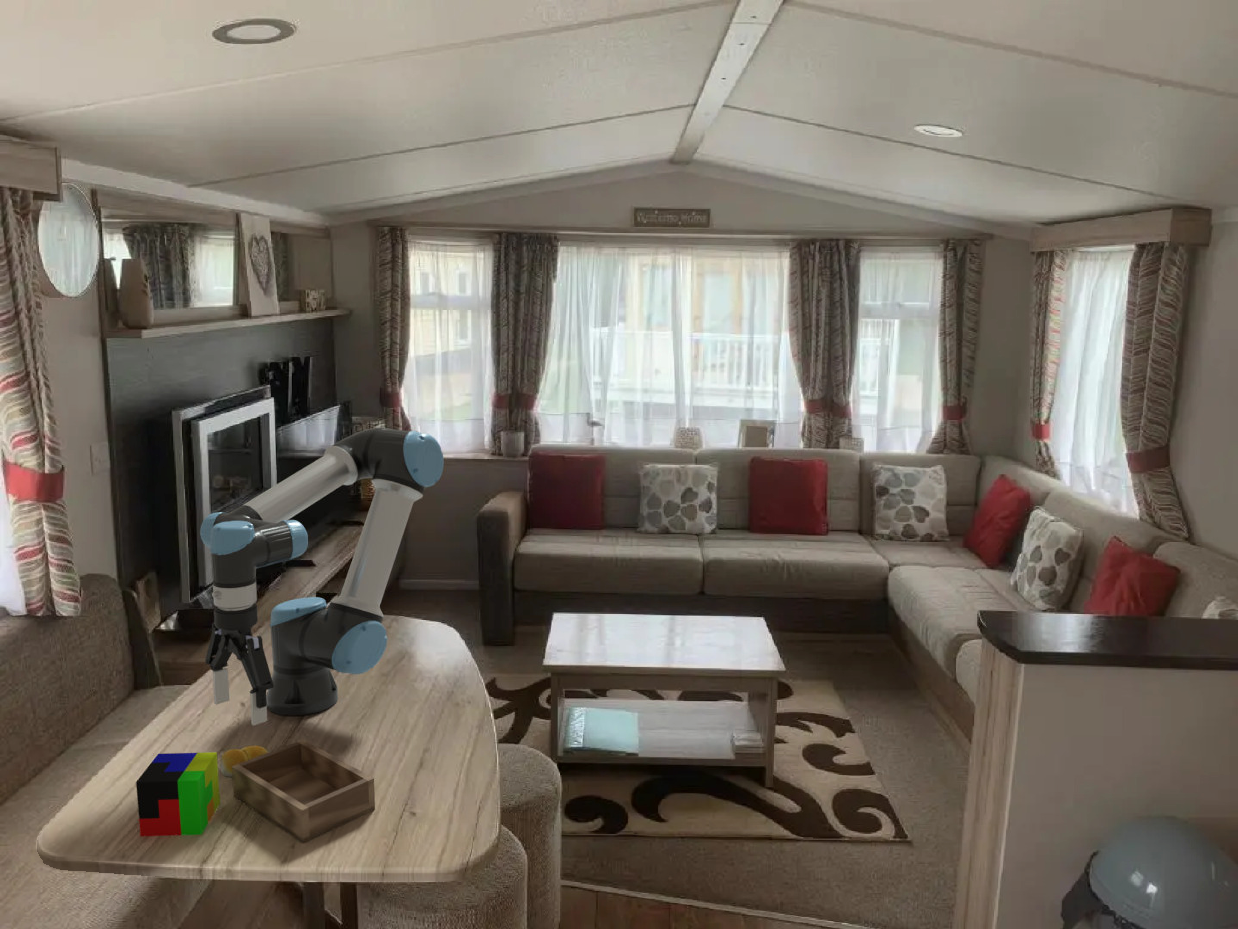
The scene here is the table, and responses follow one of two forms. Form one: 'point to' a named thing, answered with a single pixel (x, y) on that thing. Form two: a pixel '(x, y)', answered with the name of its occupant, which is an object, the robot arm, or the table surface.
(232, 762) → the bread roll
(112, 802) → the table surface
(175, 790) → the puzzle toy
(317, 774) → the wooden box
